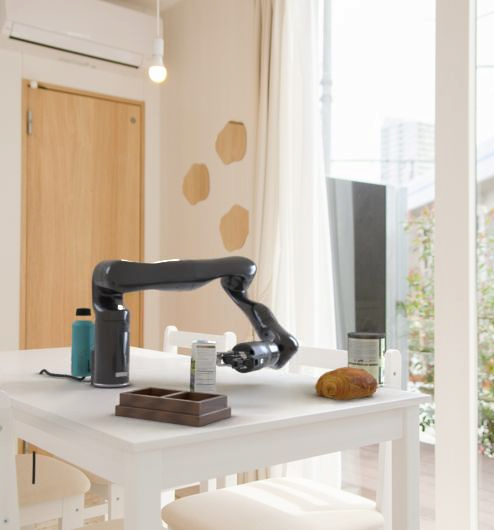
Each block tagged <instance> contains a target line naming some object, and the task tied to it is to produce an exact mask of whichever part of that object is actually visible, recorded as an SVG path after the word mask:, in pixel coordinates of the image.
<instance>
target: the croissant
mask: <svg viewBox="0 0 494 530" xmlns="http://www.w3.org/2000/svg"><path fill="white" fill-rule="evenodd" d="M377 388H378V387H377V380H376V379H375V378H374V377H373V376H372V375H371V374H370V373H368V372H367V371H366V370H364V369H359V368H353V367H348V366H344V367H339V368H336V369H333V370H330V371H326V372H324V373H323V374H322V375H320V376H319V378H318V379H317V381H316V383H315V393H316V394H317V395H319V397H324V398H328V399H330V400H331V399H332V400H336V401H337V400H338V401H344V400H354V399H360V398H365V397H369V396H373V395H374V394H375V393H376V392H377Z"/></svg>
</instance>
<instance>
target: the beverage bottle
mask: <svg viewBox="0 0 494 530" xmlns="http://www.w3.org/2000/svg"><path fill="white" fill-rule="evenodd" d="M75 310H76V311H75V316H77V317H91V316H92V311H91V308H89V307H79V308H76V309H75ZM94 341H95V322H93V320H90V319H76V320H74V321H73V322H72V324H71V347H70V354H71V355H70V375H72V376H75V377H78V378H81V377H86V378H87V377H91V373H90V372H88V369H90V364H91V350H92V349H93V348H94Z"/></svg>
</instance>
